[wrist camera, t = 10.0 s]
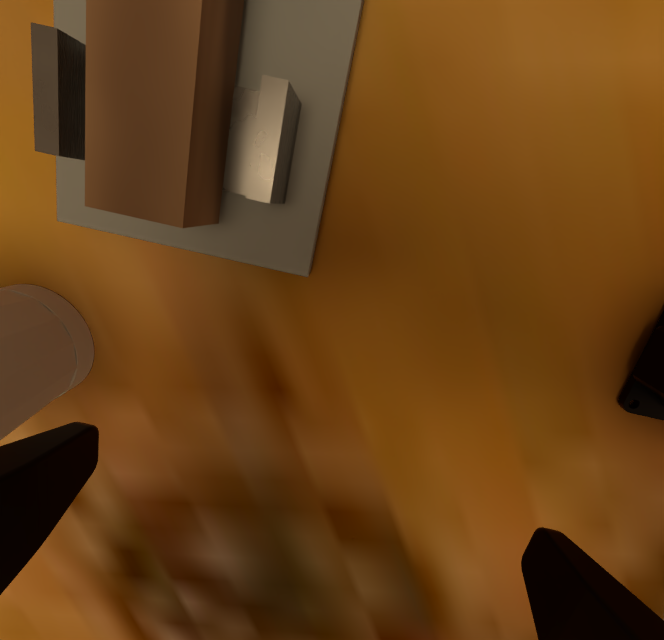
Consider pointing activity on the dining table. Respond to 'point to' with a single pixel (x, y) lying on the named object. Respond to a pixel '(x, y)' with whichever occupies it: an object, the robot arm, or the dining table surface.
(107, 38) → the rail
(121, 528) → the dining table surface
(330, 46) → the board
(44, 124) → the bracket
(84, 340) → the cup
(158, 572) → the dining table surface
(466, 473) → the dining table surface
